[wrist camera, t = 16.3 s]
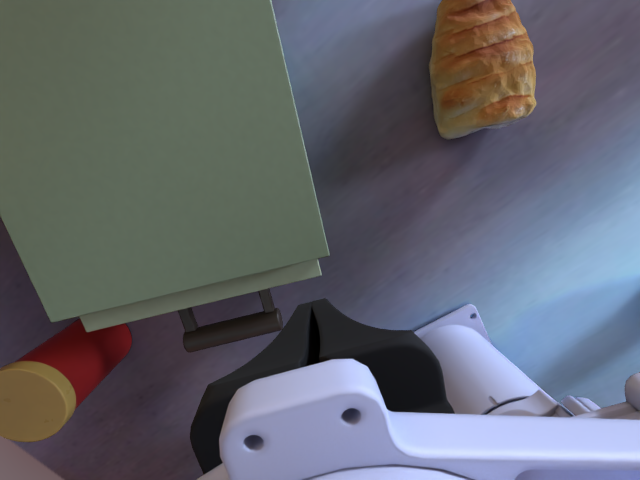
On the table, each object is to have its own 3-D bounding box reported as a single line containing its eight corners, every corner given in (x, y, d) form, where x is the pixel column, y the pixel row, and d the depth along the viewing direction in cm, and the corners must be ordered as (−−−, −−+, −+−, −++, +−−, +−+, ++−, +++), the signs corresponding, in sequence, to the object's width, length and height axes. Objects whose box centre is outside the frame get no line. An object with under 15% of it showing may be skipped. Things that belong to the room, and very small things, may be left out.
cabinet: (318, 225, 23) (329, 256, 15) (141, 267, 23) (50, 323, 14) (271, 27, 20) (253, -79, 12) (66, 73, 20) (-104, -1, 11)
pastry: (406, 6, 20) (432, -31, 17) (503, -22, 20) (549, -66, 17) (434, 147, 22) (462, 142, 19) (521, 121, 23) (566, 110, 19)
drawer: (326, 293, 23) (337, 341, 17) (167, 332, 23) (114, 396, 16) (270, 62, 20) (257, 5, 13) (80, 105, 19) (-33, 70, 13)
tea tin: (146, 347, 24) (84, 419, 17) (95, 374, 24) (14, 455, 17) (109, 299, 23) (28, 354, 16) (57, 327, 23) (-47, 394, 16)
